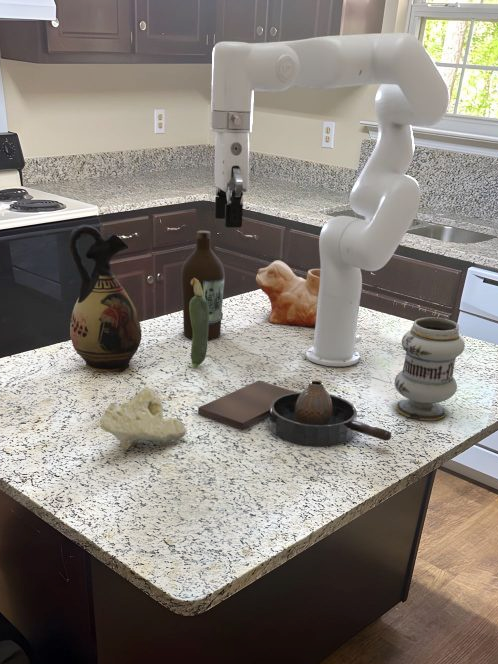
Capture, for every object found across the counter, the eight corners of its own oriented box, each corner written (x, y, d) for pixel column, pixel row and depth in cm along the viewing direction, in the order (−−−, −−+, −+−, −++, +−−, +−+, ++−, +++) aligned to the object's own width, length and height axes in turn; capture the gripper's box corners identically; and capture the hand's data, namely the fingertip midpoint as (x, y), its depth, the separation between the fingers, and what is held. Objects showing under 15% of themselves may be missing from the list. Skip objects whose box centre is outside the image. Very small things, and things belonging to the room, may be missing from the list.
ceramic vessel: (259, 308, 206) (262, 254, 198) (351, 318, 201) (357, 262, 193) (248, 322, 195) (251, 265, 187) (345, 332, 189) (352, 274, 182)
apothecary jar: (385, 417, 143) (400, 327, 133) (395, 395, 152) (408, 311, 143) (448, 427, 139) (467, 336, 130) (453, 405, 149) (471, 318, 140)
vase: (333, 422, 139) (338, 379, 134) (325, 436, 133) (330, 391, 129) (298, 416, 141) (302, 373, 136) (289, 430, 135) (293, 386, 131)
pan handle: (351, 426, 133) (352, 417, 132) (392, 440, 128) (393, 430, 127) (346, 429, 131) (347, 420, 130) (387, 443, 127) (389, 434, 126)
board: (258, 386, 154) (258, 380, 154) (301, 400, 149) (301, 393, 148) (198, 414, 141) (198, 407, 140) (242, 430, 135) (242, 423, 134)
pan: (299, 404, 147) (301, 385, 145) (370, 426, 138) (372, 407, 136) (252, 428, 136) (253, 409, 134) (325, 454, 127) (327, 434, 125)
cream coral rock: (170, 433, 138) (106, 386, 132) (193, 414, 133) (128, 364, 127) (150, 490, 128) (79, 443, 122) (173, 472, 123) (101, 421, 117)
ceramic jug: (133, 352, 171) (129, 218, 155) (148, 375, 158) (145, 231, 143) (61, 358, 166) (49, 220, 150) (71, 381, 154) (58, 233, 138)
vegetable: (209, 365, 165) (211, 276, 155) (206, 371, 161) (208, 280, 151) (190, 364, 165) (190, 274, 155) (187, 370, 162) (187, 279, 151)
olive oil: (172, 333, 184) (172, 230, 171) (203, 326, 190) (204, 226, 177) (200, 344, 178) (202, 237, 165) (231, 335, 184) (235, 232, 171)
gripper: (263, 126, 124) (257, 230, 133) (241, 120, 139) (237, 215, 148) (220, 125, 123) (217, 230, 132) (202, 119, 137) (201, 215, 146)
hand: (227, 222), depth 140 cm, fingers open, 9 cm apart
